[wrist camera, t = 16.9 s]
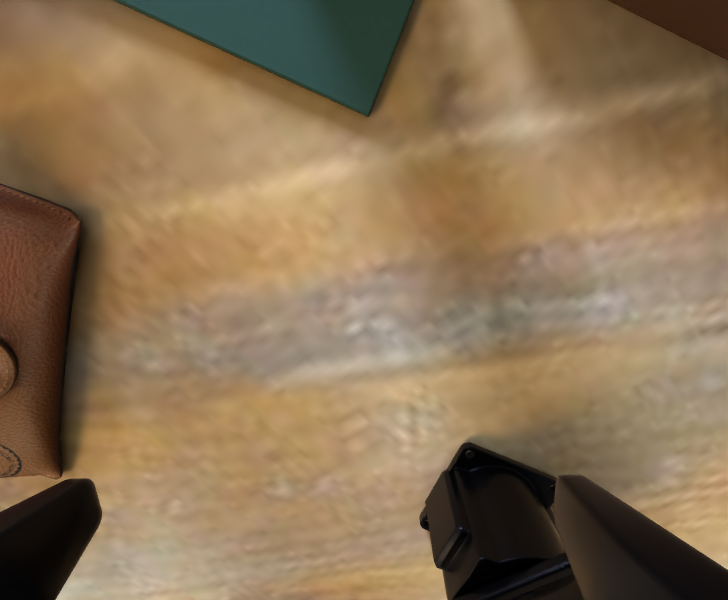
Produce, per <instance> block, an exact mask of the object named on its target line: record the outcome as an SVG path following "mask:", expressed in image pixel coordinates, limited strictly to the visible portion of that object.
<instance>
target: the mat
mask: <svg viewBox="0 0 728 600" xmlns="http://www.w3.org/2000/svg"><path fill="white" fill-rule="evenodd" d="M114 1H116V2H118V3H120V4H123V5H125V6H127V7H129V8H131V9H133V10H136V11H138V12H140V13H142V14H144V15H147V16H149V17H151V18H153V19H155V20H157V21H160V22H162V23H164V24H166V25H168V26H171V27H173V28H175V29H177V30H179V31H182V32H184V33H186V34H188V35H190V36H192V37H195V38H197V39H199V40H201V41H203V42H206V43H208V44H210V45H212V46H214V47H216V48H219V49H221V50H223V51H225V52H227V53H230V54H232V55H234V56H236V57H238V58H241V59H243V60H245V61H247V62H249V63H251V64H254V65H256V66H258V67H260V68H262V69H265V70H267V71H269V72H271V73H273V74H275V75H278V76H280V77H282V78H284V79H286V80H289V81H291V82H293V83H295V84H297V85H300V86H302V87H304V88H306V89H308V90H310V91H313V92H315V93H317V94H319V95H321V96H324V97H326V98H328V99H330V100H332V101H334V102H337V103H339V104H341V105H343V106H345V107H348V108H350V109H352V110H354V111H356V112H359V113H361V114H363V115H365V116H367V117H369V115H370V113H371V110H372V108H373V105H374V102H375V100H376V97H377V95H378V92H379V90H380V87H381V85H382V82H383V79H384V77H385V74H386V72H387V69H388V67H389V64H390V62H391V59H392V56H393V54H394V51H395V49H396V46H397V44H398V41H399V38H400V36H401V33H402V31H403V28H404V26H405V23H406V21H407V18H408V15H409V13H410V10H411V8H412V5H413V3H414V0H114Z"/></svg>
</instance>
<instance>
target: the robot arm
mask: <svg viewBox="0 0 728 600" xmlns="http://www.w3.org/2000/svg"><path fill="white" fill-rule="evenodd" d="M469 450H470V451H472V452H471V453H466V452H467V451H469ZM551 485H554V486H553V487H550V486H551ZM553 503H554V504H553ZM425 504H426V506H425V508H424V509H423V511H422V513H421V514H420V517H419V518H420V525H421V527H422V528H424V529H426V530H428V531H430V537H431V544H432V551H433V557H434V562H435V565H436V567H437V568H439V569H442V570H443V576H444V582H445V588H446V594H447V600H728V570H727V569H726V568H724V567H722V566H721V565H719V564H718V563H716V562H715V561H713V560H712V559H710V558H709V557H707V556H706V555H704V554H703V553H701V552H699V551H698V550H696V549H695V548H693V547H692V546H690V545H689V544H687V543H686V542H684V541H683V540H681V539H680V538H678V537H676V536H675V535H673V534H672V533H670V532H669V531H667V530H666V529H664V528H663V527H661V526H660V525H658V524H657V523H655V522H653V521H652V520H650V519H649V518H647V517H646V516H644V515H643V514H641V513H640V512H638V511H637V510H635V509H634V508H632V507H631V506H629V505H627V504H626V503H624V502H623V501H621V500H620V499H618V498H617V497H615V496H614V495H612V494H611V493H609V492H608V491H606V490H604V489H603V488H601V487H600V486H598V485H597V484H595V483H594V482H592V481H591V480H589V479H588V478H586V477H584V476H582V475H560V476H558V477H557V478H556V477H554V476H551V475H549V474H546V473H544V472H541V471H539V470H537V469H534V468H532V467H529V466H527V465H524V464H522V463H519V462H517V461H515V460H512V459H510V458H507V457H505V456H502V455H500V454H497V453H495V452H493V451H490V450H488V449H485V448H483V447H480V446H478V445H475V444H473V443H469V442H468V443H464V444H462V445H461V446H460V448H459V450H458V451H457V453H456V455H455V457H454V458H453V460H452V462H451V463H450V465H449V467H448V468H447V470H445V471H443V472H442V474H441V475H440V477H439V479H438V481H437V482H436V484H435V486H434V487H433V489H432V491H431V493H430V494H429V496H428V498H427V499H426V502H425ZM552 504H553V513H552V511H551V509H550V507H551V505H552ZM101 518H102V509H101V506H100V502H99V499H98V495H97V492H96V488H95V485H94V483H93V482H92V481H91V480H90V479H68V480H65V481H62V482H60V483H58V484H56V485H54V486H52V487H50V488H48V489H46V490H44V491H42V492H40V493H38V494H36V495H34V496H32V497H30V498H28V499H26V500H24V501H22V502H20V503H18V504H16V505H14V506H12V507H10V508H8V509H6V510H4V511H2V512H0V600H56V598H57V596H58V594H59V593H60V591H61V589H62V588H63V586H64V584H65V583H66V581H67V579H68V577H69V576H70V574H71V572H72V571H73V569H74V567H75V566H76V564H77V562H78V561H79V559H80V557H81V555H82V554H83V552H84V550H85V549H86V547H87V545H88V544H89V542H90V540H91V538H92V537H93V535H94V533H95V532H96V530H97V528H98V526H99V524H100V522H101ZM426 520H428V521H426Z"/></svg>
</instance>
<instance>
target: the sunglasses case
mask: <svg viewBox="0 0 728 600" xmlns="http://www.w3.org/2000/svg"><path fill="white" fill-rule="evenodd" d="M81 225H82V221H81V220H80V219H79V218H78V216H77V215H76V214H75V213H74V212H73V211H72V210H70V209H68V208H66V207H63V206H61V205H58V204H56V203H53V202H50V201H48V200H45V199H43V198H40V197H37V196H34V195H31V194H28V193H25V192H23V191H20V190H17V189H14V188H11V187H8V186H6V185H3V184H0V478H3V477H18V476H35V475H43V476H46V477H50V478H53V479H59V478H61V476H62V473H63V471H62V459H61V443H60V428H61V411H62V394H63V383H64V372H65V360H66V349H67V341H68V334H69V326H70V318H71V310H72V302H73V293H74V284H75V276H76V270H77V264H78V256H79V247H80V238H81Z"/></svg>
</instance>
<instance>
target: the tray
mask: <svg viewBox="0 0 728 600" xmlns="http://www.w3.org/2000/svg"><path fill="white" fill-rule="evenodd" d="M609 1H611V2H613V3H615V4H617V5H619V6H621V7H623V8H625V9H627V10H629V11H631V12H633V13H635V14H637V15H639V16H641V17H643V18H645V19H647V20H649V21H651V22H653V23H655V24H657V25H659V26H661V27H663V28H665V29H667V30H669V31H671V32H673V33H675V34H677V35H679V36H681V37H683V38H685V39H687V40H689V41H691V42H693V43H695V44H697V45H699V46H701V47H703V48H705V49H707V50H709V51H711V52H713V53H715V54H717V55H719V56H721V57H723V58H725V59H727V60H728V0H609Z"/></svg>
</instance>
